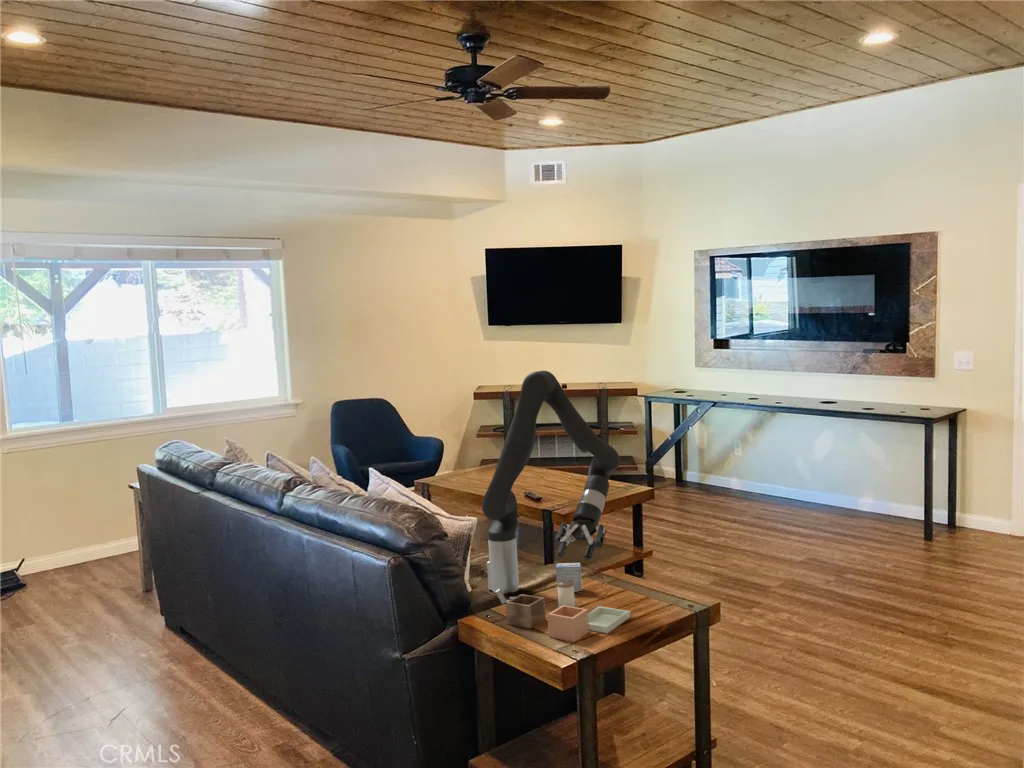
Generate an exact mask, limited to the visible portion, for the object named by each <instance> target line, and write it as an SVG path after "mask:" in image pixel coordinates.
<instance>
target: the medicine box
mask: <svg viewBox="0 0 1024 768" xmlns="http://www.w3.org/2000/svg"><path fill="white" fill-rule="evenodd" d="M555 573H556V582H557V581H559V580H573V581H574V592H577V591H582V592H583V583H582V566H581V562H566V563H565V562H563V563H562V562H561V563H556V565H555ZM556 589H557V590H556V591H557V592H558V588H557V587H556ZM557 592H556V593H557ZM577 593H578V592H577Z"/></svg>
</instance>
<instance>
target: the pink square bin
mask: <svg viewBox="0 0 1024 768" xmlns="http://www.w3.org/2000/svg"><path fill="white" fill-rule="evenodd" d="M588 613H589V609H587V608H583V607H577V606H575V607H571V606H565V605H562V606H560V607H559V606H558V607H557V608H555V609H554V610H552V611H550V612H549V613H547V626H548V627H547V628H548V638H553V639H556V640H557V639H558V640H562V641H567V642H573V643H575V642H576V641H578V640H580V639H581V638H583V637H584V636H586V635H587V634H588V633H589V632H590V630H589V619H588Z"/></svg>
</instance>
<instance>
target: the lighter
mask: <svg viewBox="0 0 1024 768" xmlns="http://www.w3.org/2000/svg"><path fill="white" fill-rule="evenodd" d="M495 594H496V595H497V597H498V599H499V600H500V602H501V604H502V605H504V604H506V602H507V601H509V600H511V599H513V598H515V597H516V596H509V599H507V598H506V597H505V594H503V593H502V591H501V589H500V588H499V589H497V590H496V593H495Z"/></svg>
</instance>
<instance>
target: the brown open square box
mask: <svg viewBox="0 0 1024 768" xmlns="http://www.w3.org/2000/svg"><path fill="white" fill-rule="evenodd" d="M514 597H515V598H513V599H511V600H510V599H508V600H509V601H507V602H505V609H506V611H505V612H506V613H505V614H506V624H507V625H509V626H510V625H511V626H516V627H521V628H527V629H532V628H534V627H535V626H537V625H538V624H540V623H542V622H543V621H545V620H546V602H545V601H546V600H545V597H541V596H537V595H528V594H522V593H521V594H519V595H517V596H514Z"/></svg>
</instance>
